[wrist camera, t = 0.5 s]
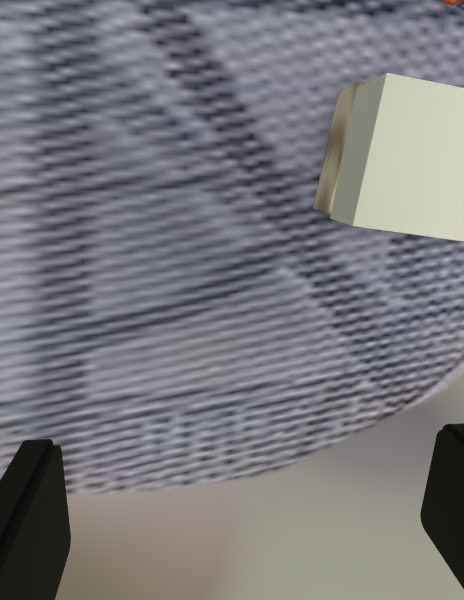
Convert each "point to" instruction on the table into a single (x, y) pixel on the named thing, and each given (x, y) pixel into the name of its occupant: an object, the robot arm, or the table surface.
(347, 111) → the lower slab
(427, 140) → the upper slab
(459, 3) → the stack of blocks
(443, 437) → the robot arm
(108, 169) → the table surface
